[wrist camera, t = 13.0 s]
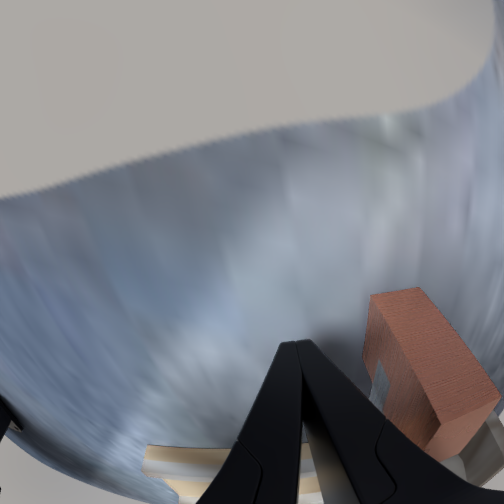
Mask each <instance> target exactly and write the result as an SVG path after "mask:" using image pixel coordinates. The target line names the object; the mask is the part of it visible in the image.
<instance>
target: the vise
mask: <svg viewBox="0 0 504 504" xmlns="http://www.w3.org/2000/svg"><path fill="white" fill-rule="evenodd" d="M230 451H231V449H198V448H177V447H164V446H154V445H147V448H146V452H145V456H144V460H143V464H142V469H141V471H142V472H143V473H144V474H145V475H146V476H147V477H153V478H161V479H163V480H164V481H165V482H166V483H167V484H168V485H169V486H170V487H171V488H172V489H173V490H174V491H175V492H176V493H177V494H178V495H179V502H178V504H195V503H196V502H197V501H198V499H199V498H200V497H201V496H202V494H203V493H204V492H205V490H206V489H207V488H208V486H209V485H210V483H211V482H212V481H213V479H214V478H215V476H216V475H217V473H218V472H219V470H220V469H221V467H222V465H223V463H224V462H225V460H226V458H227V456H228V454H229V453H230ZM458 455H459V456H460V458H461V459H462V461H463V464H464V469H465V474H466V479H467V482H469V483H471V484H473V485H476V486H478V487H482V486H483V485H484V484H485V483H487V482H488V481H489V480H490V479H492V478H493V477H494V476H495V475H496V474H497V473H498V472H499V471H501V470H502V469H503V468H504V427H503V425H502V423H501V421H500V420H499V418H498V416H497V414H496V413H495V411H494V409H493V410H492V412H491V413H490V415H489V416H488V417H487V419H486V420H485V422H484V423H483V424H482V426H481V427H480V428H479V430H478V431H477V432H476V433H475V435H474V436H473V437H472V438H471V440H470V441H469V442H468V443H467V445H466V446H465V447H464V448H463V449H462V450H461V452H460V453H459V454H458ZM298 504H324V502H323V498H322V494H321V490H320V486H319V482H318V478H317V474H316V470H315V466H314V462H313V459H312V455H311V451H310V447H309V443H303V444H302V452H301V471H300V487H299V501H298Z"/></svg>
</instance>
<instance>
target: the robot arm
mask: <svg viewBox="0 0 504 504" xmlns="http://www.w3.org/2000/svg"><path fill="white" fill-rule="evenodd" d="M303 424H304V427H305V431H306V435H307V439H308V443H309V447H310V451H311V455H312V459H313V462H314V466H315V470H316V474H317V478H318V482H319V486H320V490H321V494H322V498H323V502H324V504H504V491H499V490H491V489H485V488H482V487H478V486H476V485H473V484H471V483H469V482H467V481H465V480H464V479H462V478H461V477H459V476H458V475H456V474H455V473H454V472H452V471H451V470H449V469H448V468H446V467H445V466H444V465H442V464H441V463H440V462H438V461H437V460H435V459H434V458H433V457H431V456H430V455H429V454H427V453H426V452H425V451H423V450H422V449H421V448H420V447H418V446H417V445H416V444H414V443H413V442H412V441H411V440H410V439H409V438H408V437H406V436H405V435H404V434H403V433H402V432H401V431H400V430H399V429H398V428H397V427H396V426H395V425H394V424H393V423H392V422H391V421H390V420H389V419H386V416H385V415H384V414H383V413H382V412H381V411H380V410H379V409H378V408H377V407H376V406H375V405H374V404H373V403H372V402H371V401H370V400H369V399H368V398H367V397H366V396H365V395H364V394H363V393H362V392H361V391H360V390H359V389H358V388H357V387H356V386H355V385H354V384H353V383H352V382H351V381H350V380H349V379H348V378H347V377H346V376H345V374H344V373H343V372H342V371H341V370H340V369H339V368H338V367H337V366H336V365H335V364H334V363H333V362H332V361H331V360H330V359H329V358H328V357H327V356H326V355H325V354H324V353H323V352H322V351H321V350H320V349H319V348H318V347H317V346H316V344H315V343H314V342H313V341H312V340H310V339H305V340H297V341H296V342H295V341H288V342H282V343H280V345H279V347H278V350H277V352H276V354H275V357H274V359H273V361H272V363H271V366H270V368H269V370H268V373H267V375H266V377H265V379H264V382H263V384H262V386H261V388H260V390H259V393H258V395H257V397H256V399H255V401H254V403H253V406H252V408H251V410H250V412H249V414H248V416H247V418H246V420H245V423H244V425H243V427H242V429H241V431H240V433H239V435H238V437H237V441H235V443H234V445H233V447H232V449H231V451H230V453H229V454H228V456H227V458H226V460H225V462H224V463H223V465H222V467H221V469H220V470H219V472H218V473H217V475H216V476H215V478H214V479H213V481H212V482H211V483H210V485H209V486H208V488H207V489H206V490H205V492H204V493H203V494H202V496H201V497H200V498H199V499H198V501H197V502H196V503H195V504H298V501H299V487H300V471H301V452H302V428H303ZM8 427H9V428H11V429H13V430H16V431H18V432H22V431H23V429H24V428H23V427H22V426H21V424H20V423H19V422H18V421H17V420H16V419H15V418H14V417H13V415H12V414H11V413H10V412H9V411H8V409H7V408H6V407H5V406H4V405H3V403H2V402H1V401H0V442H1V440H2V438H3V436H4V435H5V433H6V431H7V429H8ZM0 492H1V488H0Z"/></svg>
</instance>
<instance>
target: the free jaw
mask: <svg viewBox="0 0 504 504" xmlns="http://www.w3.org/2000/svg"><path fill="white" fill-rule="evenodd" d="M362 358H363V361H364V363H365V366H366V368H367V371H368V373H369V376H370V378H371V381H372V383H373V385H372V389H371V393H370V396H369V400H370V401H371V402H372V403H373V404H374V405H375V406H376V407H377V408H378V409H379V410H380V411H381V412H382V413H383V414H384V415H385V416H386V419H389V420H390V421H391V422H392V423H393V424H394V425H395V426H396V427H397V428H398V429H399V430H400V431H401V432H402V433H403V434H404V435H405V436H406V437H408V438H409V439H410V440H411V441H412V442H413V443H414V444H416V445H417V446H418V447H420V448H421V449H422V450H423V451H425V452H426V453H427V454H429V455H430V456H431V457H433V458H434V459H435V460H437V461H438V462H441V461H443V460H445V459H448V458H450V457H452V456H454V455H457V454H459V453H460V452H461V450H462V449H463V448H464V447H465V446H466V445H467V443H468V442H469V441H470V440H471V438H472V437H473V436H474V435H475V433H476V432H477V431H478V430H479V428H480V427H481V426H482V424H483V423H484V422H485V420H486V419H487V417H488V416H489V415H490V413H491V412H492V410H493V409H494V408H495V406H496V405H497V403H498V402H499V400H500V399H501V397H502V396H501V394H500V393H499V391H498V390H497V388H496V387H495V385H494V384H493V382H492V381H491V379H490V378H489V376H488V375H487V373H486V372H485V371H484V369H483V368H482V366H481V365H480V363H479V362H478V361H477V359H476V358H475V356H474V355H473V354H472V352H471V351H470V350H469V348H468V347H467V346H466V344H465V343H464V342H463V340H462V339H461V338H460V336H459V335H458V334H457V332H456V331H455V330H454V329H453V327H452V326H451V325H450V324H449V322H448V321H447V320H446V319H445V317H444V316H443V315H442V314H441V312H440V311H439V310H438V309H437V308H436V306H435V305H434V304H433V303H432V302H431V300H430V299H429V298H428V297H427V296H426V294H425V293H424V292H423V291H422V290H421V289H420V288H419V287H416V288H411V289H405V290H399V291H393V292H387V293H381V294H375V295H370V305H369V313H368V321H367V328H366V335H365V342H364V349H363V355H362Z"/></svg>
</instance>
